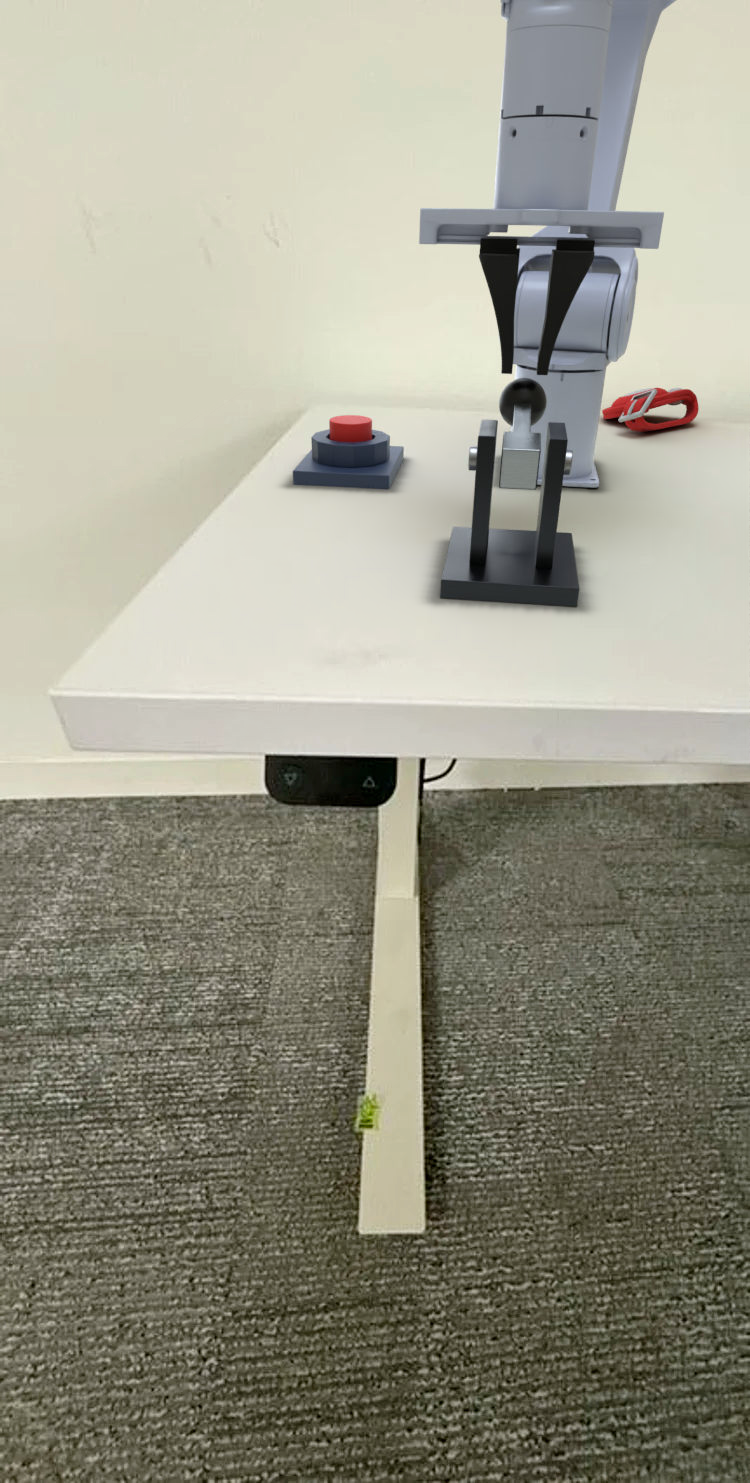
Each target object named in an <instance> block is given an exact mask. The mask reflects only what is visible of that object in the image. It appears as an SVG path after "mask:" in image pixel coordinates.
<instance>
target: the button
mask: <svg viewBox="0 0 750 1483" xmlns="http://www.w3.org/2000/svg"><path fill="white" fill-rule="evenodd" d="M328 422H329V429H330V440H333V441H338V442H364V441H369V440H372V430H373V420H372V418H371V417H368V416H364V415H356V414H355V415H354V414H345V415H344V414H343V415H336V416H333V417H330V418H329V420H328Z"/></svg>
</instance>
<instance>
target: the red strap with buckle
mask: <svg viewBox="0 0 750 1483" xmlns="http://www.w3.org/2000/svg"><path fill="white" fill-rule="evenodd" d="M678 405H683V406H685V408H686V409H685V410H686V411H685V414H684V416H683V417H681V418H677V419H673V420H668V421H663V422H659V423H652V422H648V421H646V419H645V417H644V414H646V413H649V411H650V410H652V409H657V408H659V407H664V406H678ZM601 412H602V417H603V418H602V419H603V420H610V419H616V418H618V422H619V423H623V422H624V423H625V425H626V427H627V428H628V429H630V431H634V432H639V433H642V432H650V431H656V430H662V429H666V428H671V427H676V426H681V425H686V424H690V423H692V422H693V421H694V420H695V419H696V418H697V416H698V413H699V402H698V398H697V395H696V394H695V393H694V392H693V391H692V390H691V389H690V388H689V389H688V388H685V389H684V388H682V387H674V388H670V389H669V390H666V389H664V388H661V387H649V388H642V389H637V390H634V391H631V392H628V393H626V394H624V395H622V396H619V397H618V398H617V399H614V401H613V402H612V403H611V405H610V406H609V407H606V408H604V409H602V410H601Z"/></svg>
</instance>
